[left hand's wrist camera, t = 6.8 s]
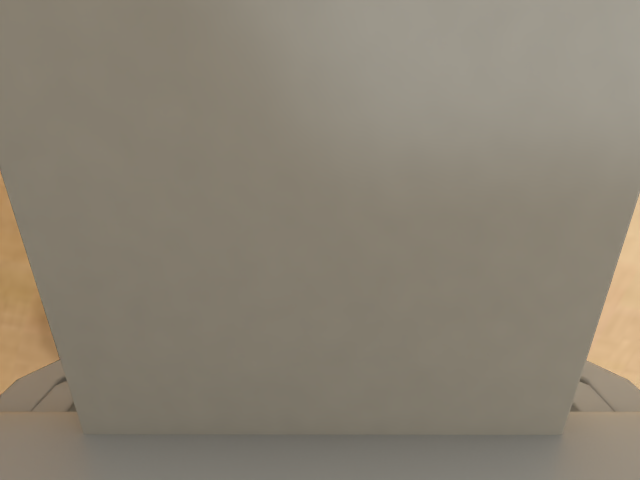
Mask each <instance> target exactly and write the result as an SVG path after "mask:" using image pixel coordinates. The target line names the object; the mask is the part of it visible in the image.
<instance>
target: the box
mask: <svg viewBox="0 0 640 480" xmlns="http://www.w3.org/2000/svg"><path fill="white" fill-rule="evenodd" d="M0 171H1V174H2V177H3V180H4V183H5V187H6V190H7V193H8V196H9V199H10V202H11V206H12V209H13V212H14V215H15V218H16V221H17V225H18V228H19V231H20V234H21V237H22V240H23V244H24V247H25V250H26V253H27V256H28V259H29V263H30V266H31V269H32V272H33V275H34V278H35V282H36V285H37V288H38V291H39V294H40V297H41V301H42V304H43V307H44V310H45V313H46V316H47V320H48V323H49V326H50V329H51V332H52V335H53V339H54V342H55V345H56V348H57V351H58V354H59V358H60V361H61V364H62V367H63V370H64V373H65V377H66V380H67V383H68V386H69V389H70V392H71V396H72V399H73V402H74V405H75V408H76V411H77V415H78V418H79V421H80V424H81V427H82V430H83V434H215V435H562V434H563V431H564V428H565V425H566V422H567V418H568V415H569V412H570V409H571V406H572V403H573V400H574V397H575V393H576V390H577V387H578V384H579V381H580V378H581V375H582V372H583V368H584V365H585V362H586V359H587V356H588V353H589V350H590V346H591V343H592V340H593V337H594V334H595V331H596V328H597V325H598V321H599V318H600V315H601V312H602V309H603V306H604V303H605V300H606V296H607V293H608V290H609V287H610V284H611V281H612V278H613V275H614V271H615V268H616V265H617V262H618V259H619V256H620V253H621V250H622V246H623V243H624V240H625V237H626V234H627V231H628V228H629V225H630V221H631V218H632V215H633V212H634V209H635V206H636V203H637V200H638V196H639V193H640V0H0Z"/></svg>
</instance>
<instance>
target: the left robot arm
mask: <svg viewBox="0 0 640 480" xmlns="http://www.w3.org/2000/svg"><path fill="white" fill-rule="evenodd" d="M0 480H640V390H639V389H638V388H637V387H636V386H635V385H633V384H632V383H631V382H630V381H629V380H627V379H625V378H623V377H621V376H619V375H617V374H614V373H612V372H610V371H608V370H606V369H604V368H602V367H599V366H597V365H595V364H593V363H591V362H589V361H587V360H586V362H585V365H584V368H583V372H582V375H581V378H580V381H579V384H578V387H577V390H576V393H575V397H574V400H573V403H572V406H571V409H570V412H569V415H568V418H567V422H566V425H565V428H564V431H563V434H562V435H215V434H83V430H82V427H81V424H80V421H79V418H78V415H77V411H76V408H75V405H74V402H73V399H72V396H71V392H70V389H69V386H68V383H67V380H66V377H65V373H64V370H63V367H62V364H61V361H60V360H58V361H56V362H54V363H51V364H49V365H47V366H45V367H43V368H41V369H39V370H37V371H35V372H32V373H30V374H28V375H26V376H24V377H22V378H20V379H18V380H16V381H15V382H14V383H13V384H12V385H11V386H10V387H9V388H8V389H7V390H5V391H4V392H3V393H2V394H1V395H0Z"/></svg>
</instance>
